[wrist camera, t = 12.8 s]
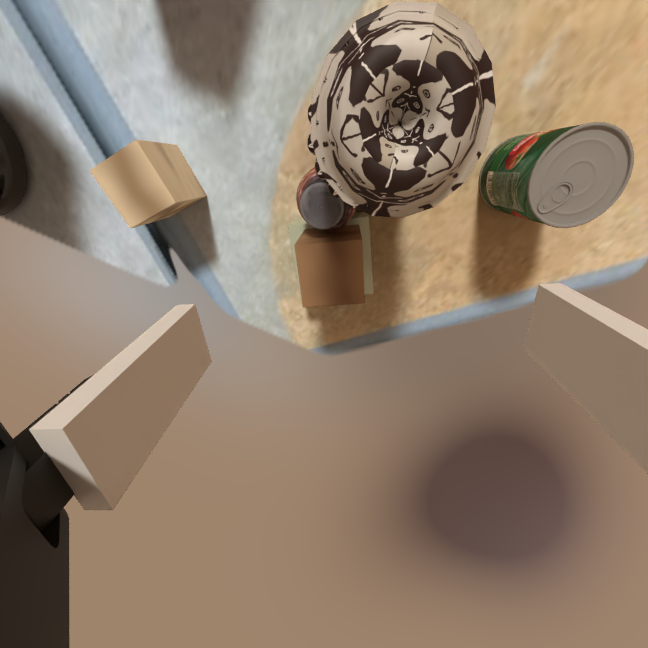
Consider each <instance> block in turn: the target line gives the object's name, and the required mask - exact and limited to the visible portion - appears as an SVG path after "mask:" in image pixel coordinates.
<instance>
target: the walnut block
mask: <svg viewBox="0 0 648 648" xmlns="http://www.w3.org/2000/svg"><path fill="white" fill-rule="evenodd" d="M294 246H295V254H296V261H297V268H298V276H299V283H300V290H301V298H302V305H303V307H312V306H328V305H344V304H360V303H365V294H364V269H363V243H362V236H361V231H360V227H359V224H358V225H346V226H343V227H342V228H339V229H337V230H334V231H321V230H318V229H315V228H312V229H305V230H304V231H303V233H302V234H301V236H300V237H299V239H298V240H297V242H296V243H295V245H294Z"/></svg>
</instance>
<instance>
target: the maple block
mask: <svg viewBox="0 0 648 648" xmlns="http://www.w3.org/2000/svg"><path fill="white" fill-rule="evenodd" d="M89 171H90V172H91V174H92V175H93V177H94V178H95V179H96V181H97V182H98V184H99V185H100V186H101V188H102V189H103V191H104V192H105V193H106V195H107V196H108V198H109V199H110V200H111V202H112V203H113V205H114V206H115V207H116V209H117V210H118V212H119V213H120V214H121V216H122V217H123V219H124V220H125V221H126V223H127V224H128V225H129V227H130V228H134V227H137V226H141V225H144V224H148V223H151V222H155V221H158V220H162V219H165V218H169V217H171V216H172V215H174V214H176V213H178V212H179V211H181V210H183V209H185V208H187V207H188V206H190V205H192V204H194V203H195V202H197V201H199V200H201V199H202V198H204V197H206V196H207V195H206V193H205V192H204V190H203V188H202V186H201V185H200V183H199V181H198V180H197V178H196V176H195V175H194V173H193V171H192V169H191V168H190V166H189V164H188V163H187V161H186V159H185V157H184V156H183V154H182V152H181V151H180V149H179V147H178V146H177V145H173V144H165V143H158V142H150V141H143V140H135V141H133V142H132V143H130V144H129V145H127V146H126V147H124V148H123V149H121V150H120V151H118V152H117V153H115V154H114V155H112V156H111V157H109V158H108V159H106V160H105V161H103V162H102V163H100V164H99V165H97V166H95V167H94V168H92V169H91V170H89Z"/></svg>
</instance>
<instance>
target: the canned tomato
mask: <svg viewBox="0 0 648 648" xmlns="http://www.w3.org/2000/svg"><path fill="white" fill-rule="evenodd" d="M633 164H634V152H633V147H632V143H631V141H630V139H629V137H628V136H627V135H626V133H625V132H624V131H623V130H622V129H620V128H618V127H617V126H615V125H612V124H609V123H605V122H592V123H587V124H582V125H578V126H572V127H567V128H561V129H555V130H549V131H544V132H538V133H533V134H527V135H519V136H515V137H512V138H510V139H507V140H506V141H504V142H503V143H501V144H500V145H498V146H497V147H496V148H495V149H494V150H493V151H492V152H491V153H490V155H489V156H488V157H487V159H486V161H485V162H484V164H483V167H482V169H481V172H480V177H479V189H480V194H481V196H482V198H483V200H484V201H485V203H486V204H487V205H488V206H489V207H491V208H493V209H494V210H497V211H501V212H505V213H508V214H512V215H515V216H519V217H522V218H525V219H529V220H533V221H536V222H539V223H543V224H546V225H548V226H552V227H556V228H570V227H576V226H579V225H582V224H585V223H587V222H589V221H591V220H593V219H595V218H597V217H598V216H600V215H601V214H602V213H604V212H605V211H606V210H607V209H608V208H609V207H611V206H612V205H613V204H614V202H615V201H616V200H617V199H618V198H619V196H620V195H621V194H622V192H623V190H624V189H625V187H626V185H627V183H628V181H629V178H630V176H631V173H632V169H633Z"/></svg>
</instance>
